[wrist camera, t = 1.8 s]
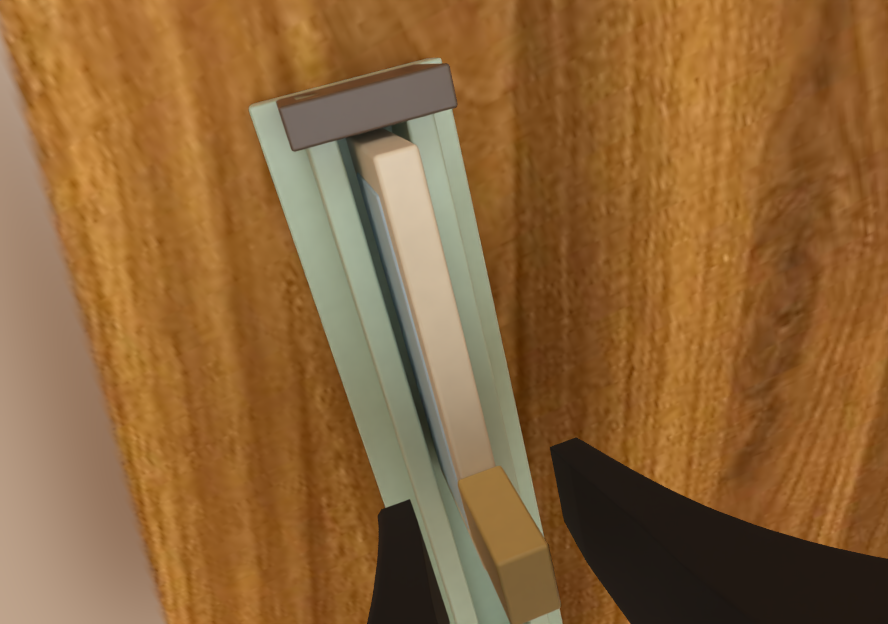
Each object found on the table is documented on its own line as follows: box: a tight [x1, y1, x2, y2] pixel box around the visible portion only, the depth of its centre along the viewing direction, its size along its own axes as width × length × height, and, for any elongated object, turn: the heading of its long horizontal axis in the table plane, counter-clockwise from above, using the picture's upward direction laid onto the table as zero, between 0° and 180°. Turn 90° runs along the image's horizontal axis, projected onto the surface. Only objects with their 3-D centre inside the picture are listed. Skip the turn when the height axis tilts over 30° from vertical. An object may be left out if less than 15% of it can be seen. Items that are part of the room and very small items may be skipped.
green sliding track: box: [249, 58, 563, 624], centre depth 17 cm, size 21×4×4 cm, turn 13°
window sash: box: [346, 128, 561, 624], centre depth 13 cm, size 10×1×6 cm, turn 13°
